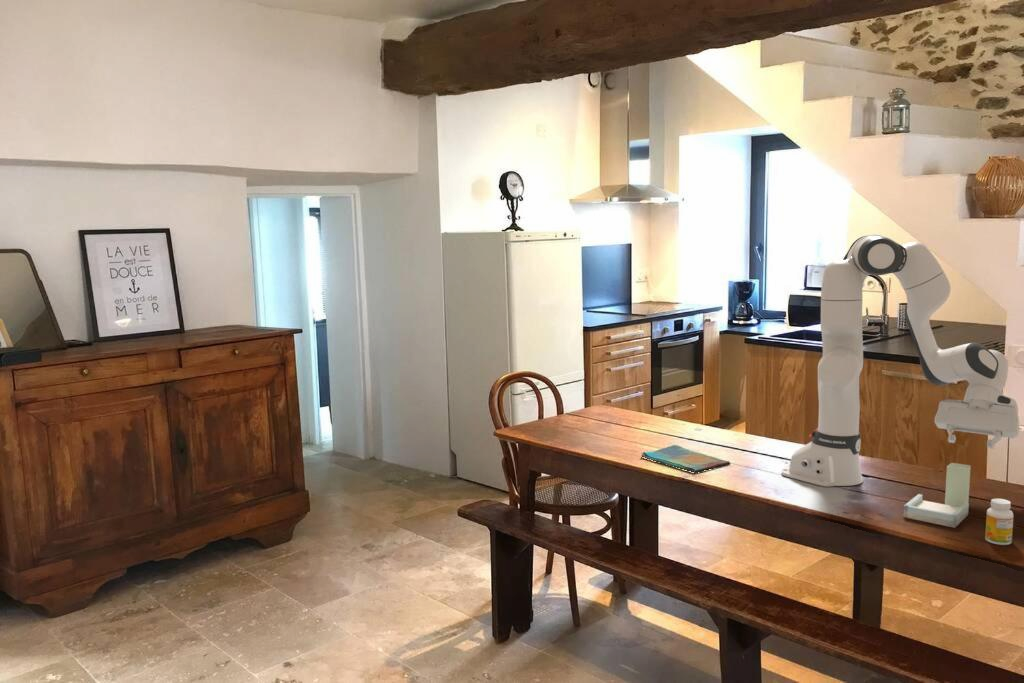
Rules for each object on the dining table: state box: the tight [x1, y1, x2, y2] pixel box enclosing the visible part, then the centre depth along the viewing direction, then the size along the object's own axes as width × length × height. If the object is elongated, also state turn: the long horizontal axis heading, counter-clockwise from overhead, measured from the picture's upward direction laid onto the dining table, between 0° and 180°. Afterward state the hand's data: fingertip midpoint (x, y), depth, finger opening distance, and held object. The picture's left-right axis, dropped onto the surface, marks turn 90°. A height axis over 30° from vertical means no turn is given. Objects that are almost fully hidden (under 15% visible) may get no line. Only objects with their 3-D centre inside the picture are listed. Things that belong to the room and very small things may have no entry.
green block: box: [944, 462, 971, 507], centre depth 217 cm, size 4×4×11 cm
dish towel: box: [641, 444, 731, 474], centre depth 264 cm, size 17×23×2 cm
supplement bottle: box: [984, 498, 1014, 546], centre depth 193 cm, size 5×5×10 cm
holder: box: [902, 493, 970, 529], centre depth 211 cm, size 12×12×3 cm
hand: (970, 444), depth 223 cm, fingers open, 8 cm apart
